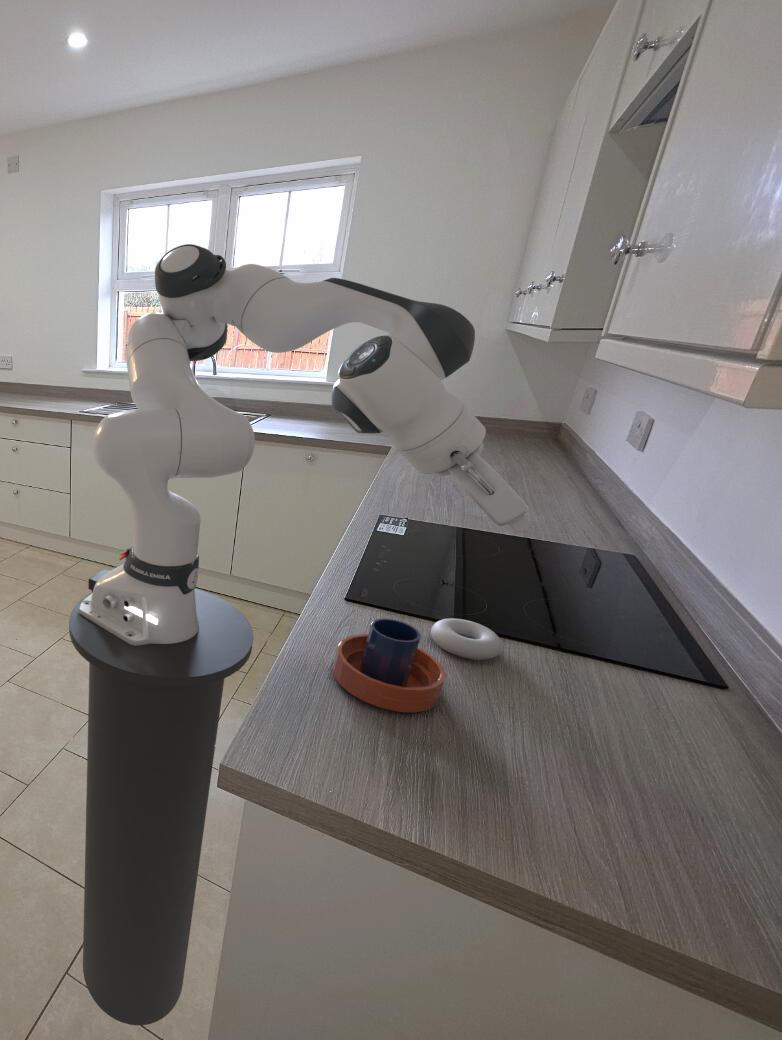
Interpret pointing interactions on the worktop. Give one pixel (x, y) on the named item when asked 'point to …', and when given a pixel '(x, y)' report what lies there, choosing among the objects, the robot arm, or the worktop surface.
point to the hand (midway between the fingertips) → (507, 511)
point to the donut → (466, 639)
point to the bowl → (411, 698)
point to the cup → (390, 651)
